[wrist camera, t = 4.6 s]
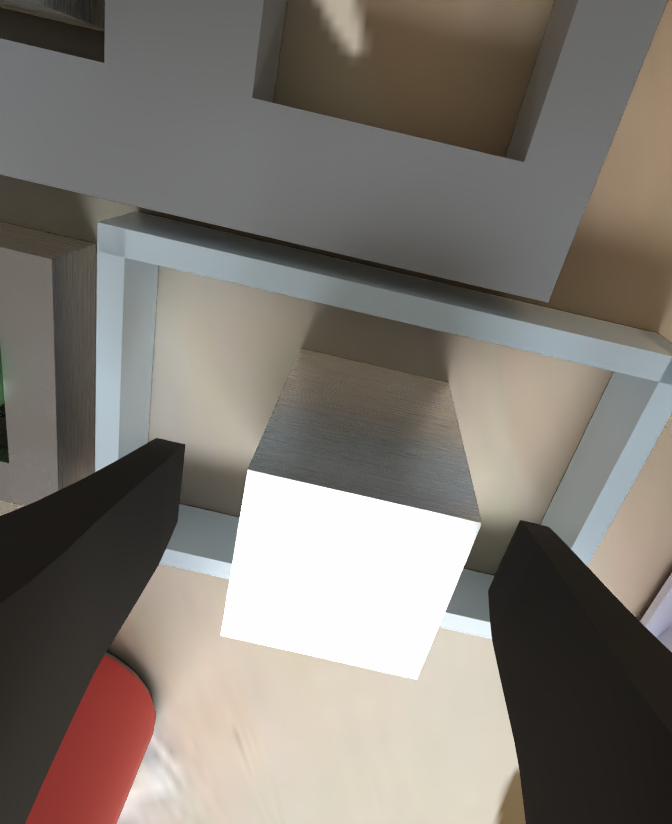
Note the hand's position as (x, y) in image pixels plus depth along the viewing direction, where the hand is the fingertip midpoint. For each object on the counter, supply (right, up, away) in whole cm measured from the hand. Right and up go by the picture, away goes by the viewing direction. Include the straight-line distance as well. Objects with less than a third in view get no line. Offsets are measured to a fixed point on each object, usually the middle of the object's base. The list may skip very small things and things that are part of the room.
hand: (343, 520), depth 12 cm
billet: (0, +2, +4) cm, 4 cm away
